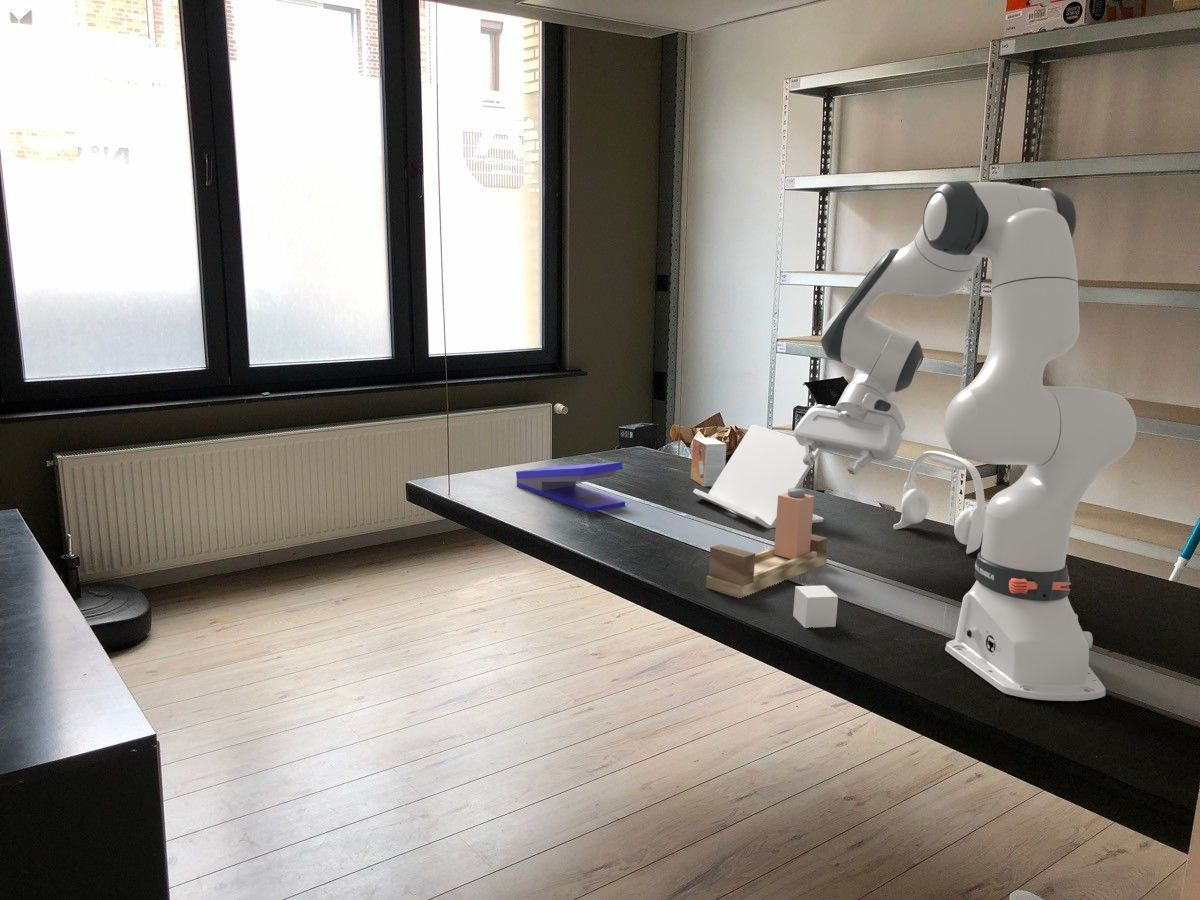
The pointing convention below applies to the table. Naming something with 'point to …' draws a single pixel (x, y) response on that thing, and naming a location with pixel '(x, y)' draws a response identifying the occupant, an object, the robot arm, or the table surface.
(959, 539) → the headset
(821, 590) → the white cube
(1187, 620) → the table surface
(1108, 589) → the table surface
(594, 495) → the stapler
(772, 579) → the track
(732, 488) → the tablet stand
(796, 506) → the pink capped carton
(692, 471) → the small box
